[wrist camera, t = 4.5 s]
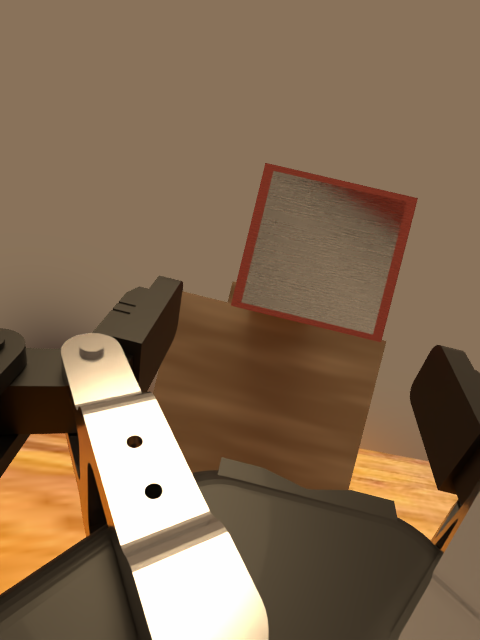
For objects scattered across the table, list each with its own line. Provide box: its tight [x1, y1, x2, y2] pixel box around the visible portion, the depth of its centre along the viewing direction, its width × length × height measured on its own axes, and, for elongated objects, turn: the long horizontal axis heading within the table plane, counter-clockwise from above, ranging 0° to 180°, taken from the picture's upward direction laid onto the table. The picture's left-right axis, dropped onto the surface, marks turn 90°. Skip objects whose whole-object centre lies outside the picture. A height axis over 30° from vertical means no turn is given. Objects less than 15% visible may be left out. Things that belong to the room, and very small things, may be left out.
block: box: [231, 163, 418, 342], centre depth 28 cm, size 36×4×9 cm, turn 177°
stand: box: [153, 282, 386, 490], centre depth 30 cm, size 16×14×33 cm
